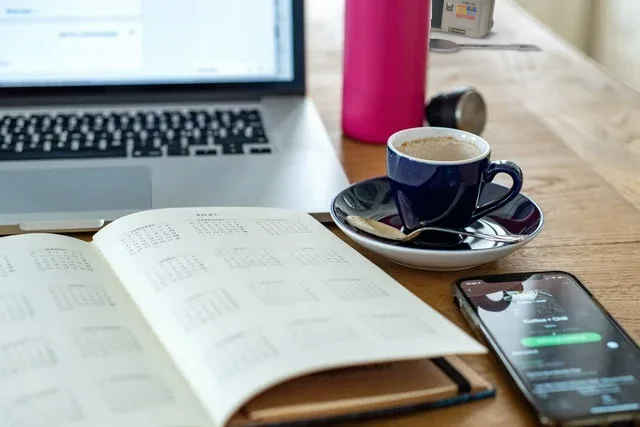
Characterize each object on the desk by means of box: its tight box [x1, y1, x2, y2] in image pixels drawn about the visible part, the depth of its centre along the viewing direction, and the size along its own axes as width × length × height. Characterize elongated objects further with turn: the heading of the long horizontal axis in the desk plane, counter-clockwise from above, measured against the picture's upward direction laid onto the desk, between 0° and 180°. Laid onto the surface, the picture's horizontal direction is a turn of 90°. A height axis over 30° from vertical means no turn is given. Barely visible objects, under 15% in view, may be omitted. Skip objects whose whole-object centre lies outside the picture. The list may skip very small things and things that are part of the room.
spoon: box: [428, 38, 538, 53], centre depth 124 cm, size 17×5×1 cm, turn 98°
